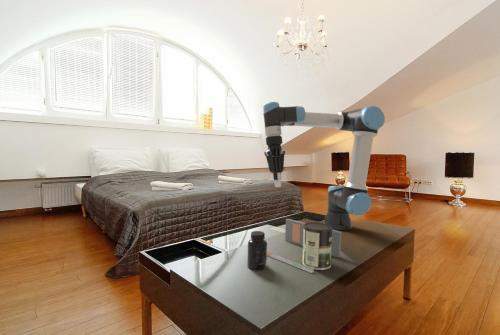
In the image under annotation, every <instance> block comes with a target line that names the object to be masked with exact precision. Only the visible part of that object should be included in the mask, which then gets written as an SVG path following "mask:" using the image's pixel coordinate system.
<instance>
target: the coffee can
mask: <svg viewBox="0 0 500 335" xmlns="http://www.w3.org/2000/svg"><path fill="white" fill-rule="evenodd" d="M304 223H305V224H304V225H303V227H304V230H303V246H302V260H301V261H302V265H304V266H306V267H309V268H311V269H314V271H315V270H316V271H325V270H328V269H330V268H331V267H332V255H331V247H332V230H334V229H333V227H332V226H330V225H328V224H324V222H317V221H315V222H314V221H313V222H304Z"/></svg>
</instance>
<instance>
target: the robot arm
mask: <svg viewBox="0 0 500 335" xmlns="http://www.w3.org/2000/svg"><path fill="white" fill-rule="evenodd" d="M262 108H263V121H264V133H265V144H266V146H267V150H266V151H264V155H265V158H266V162H267V166H268V170H269V172H270V173H271V174H272V175H273V182H274V187H275V188H281V187H282V174H281V173H283V172H284V169H285V168H284V167H285V166H284V165H285V154H286V151H285V150H283V148H282V146H281V145H282V144H283V136H282V127H285V126H287V127H288V126H289V127H309V128H326V129H327V128H329V129H330V128H332V129H335V130H337V131H347V132H351V133H352V134H353V136H354V138H353V139H354V140H353V145H352V149H351V150H352V151H351V152H352V153H351V158H350V164H349V169H348V170H349V171H348V177H347V182H346V183H345V184H343V185H330V186H328V190H327V210H326V215H325V217H324V220H323V223H324V224H328V225H330V226H332V227H333V230H336V231H350V230H352V229H353V222H352V219H351V216H350V215H354V216H363V215H365V213H368V211H369V210H370V209H371V206H372V199H371V197H370V195H369V194H368V193H369V188H368V187H367V186H366V184H367V178H368V173H369V172H368V171H369V165H370V160H371V153H372V146H373V141H374V138H376V137H377V136H378V132H379V129H380V128H382V127H383V126H384V124H385V121H386V120H385V118H386V116H385V113H384V112H383V111H382V109H381V108H380V107H378V106H376V105H367V106H364V107H361V108H358V109H353V110H349V111H342V112H341V111H339V112H337V113H327V112H310V111H308V112H307V111H306V110H305V108H304V107H303V105H301V106H299V105H295V106H280V103H279V102H278V101H271V102H270V101H269V102H266V103H264V105H263V106H262Z"/></svg>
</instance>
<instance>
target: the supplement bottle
mask: <svg viewBox="0 0 500 335" xmlns="http://www.w3.org/2000/svg"><path fill="white" fill-rule="evenodd" d="M265 238H266V236H265V232H264V231H262V230H261V231H260V230H253V231H251V233H250V239H249V240H248V241H247V258H246V259H247V263H246V264H247V267H248V268H249V269H250V270H253V271H261V270H265V269H266V268H267V264H268V259H267V258H268V256H267V252H268V242H267V240H265Z"/></svg>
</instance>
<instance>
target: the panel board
mask: <svg viewBox="0 0 500 335" xmlns="http://www.w3.org/2000/svg"><path fill="white" fill-rule="evenodd" d="M305 223H306V222H303V221H299V220H294V219H290V218H286V219H285V233H284V234H285V235H284V237H285V238H284V239H285V240H284V241H286V242H289V243H291V244H294V245H298V246H300V247H303V230H304V227H303V225H304V224H305ZM341 248H342V231H341V230H335V229H333V230H332V247H331V257H334V258H338V259H339V258H341Z"/></svg>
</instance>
